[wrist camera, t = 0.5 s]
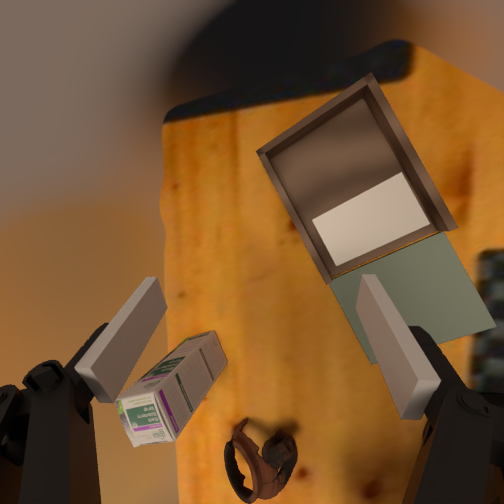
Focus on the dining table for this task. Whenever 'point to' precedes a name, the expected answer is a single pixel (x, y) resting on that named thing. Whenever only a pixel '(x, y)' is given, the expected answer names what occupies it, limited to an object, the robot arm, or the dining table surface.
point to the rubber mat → (420, 291)
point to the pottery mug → (260, 464)
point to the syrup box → (171, 391)
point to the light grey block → (370, 220)
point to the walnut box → (348, 168)
